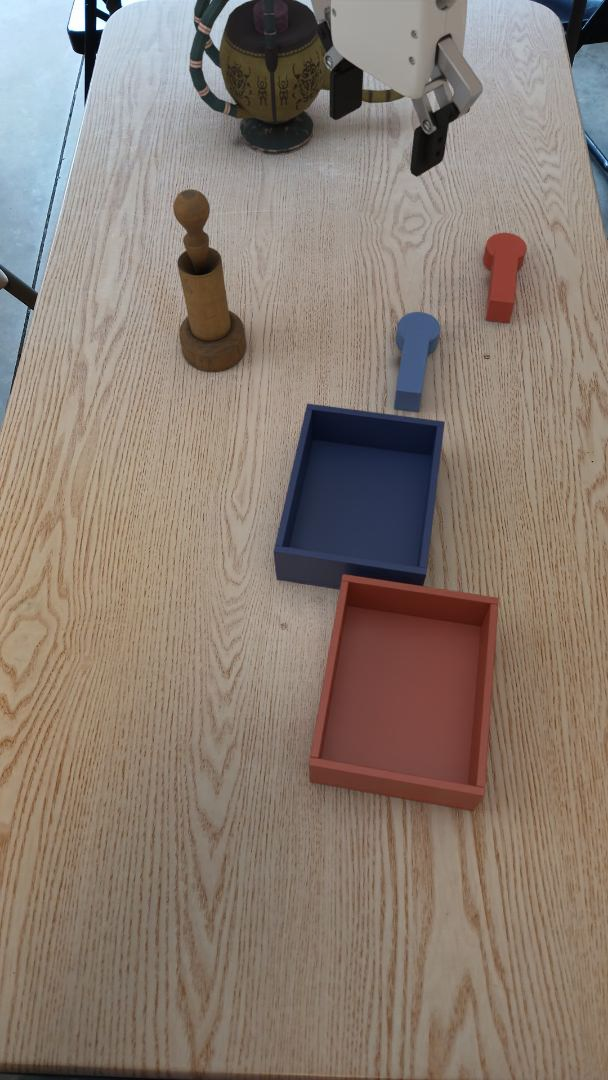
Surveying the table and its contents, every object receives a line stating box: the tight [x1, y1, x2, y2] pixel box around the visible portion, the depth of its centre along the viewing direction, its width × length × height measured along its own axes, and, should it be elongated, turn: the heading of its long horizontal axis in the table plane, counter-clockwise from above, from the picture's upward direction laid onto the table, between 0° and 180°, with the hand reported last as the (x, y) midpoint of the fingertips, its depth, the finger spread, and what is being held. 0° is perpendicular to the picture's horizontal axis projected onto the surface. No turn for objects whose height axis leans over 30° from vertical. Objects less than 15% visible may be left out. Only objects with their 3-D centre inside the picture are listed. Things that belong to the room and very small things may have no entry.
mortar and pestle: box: [172, 188, 247, 373], centre depth 76 cm, size 7×6×18 cm
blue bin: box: [273, 403, 446, 590], centre depth 71 cm, size 15×12×5 cm
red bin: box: [308, 574, 500, 812], centre depth 63 cm, size 15×12×5 cm
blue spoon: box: [393, 311, 441, 413], centre depth 81 cm, size 11×4×3 cm, turn 170°
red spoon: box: [482, 232, 528, 324], centre depth 86 cm, size 11×4×3 cm, turn 170°
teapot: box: [188, 0, 406, 156], centre depth 90 cm, size 12×25×23 cm, turn 91°
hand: (384, 139), depth 69 cm, fingers open, 9 cm apart
